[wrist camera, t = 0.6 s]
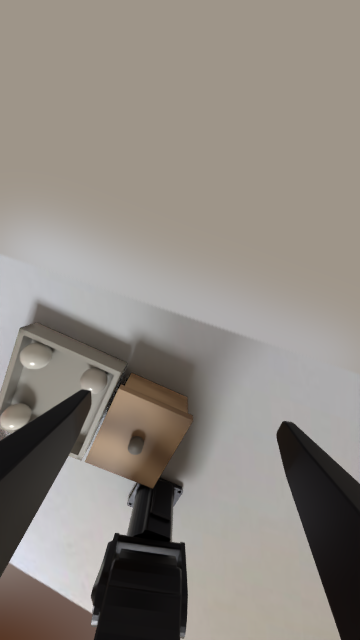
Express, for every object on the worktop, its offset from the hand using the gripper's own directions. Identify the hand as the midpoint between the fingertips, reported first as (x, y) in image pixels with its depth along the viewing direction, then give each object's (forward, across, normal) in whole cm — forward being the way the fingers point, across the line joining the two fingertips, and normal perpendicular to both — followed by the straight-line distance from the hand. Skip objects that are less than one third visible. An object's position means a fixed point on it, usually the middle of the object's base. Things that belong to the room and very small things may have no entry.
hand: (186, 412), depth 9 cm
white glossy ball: (+13, +16, +8) cm, 22 cm away
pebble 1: (+12, +19, +16) cm, 27 cm away
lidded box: (+12, +3, +15) cm, 20 cm away
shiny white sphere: (+13, +10, +10) cm, 19 cm away
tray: (+13, +14, +13) cm, 23 cm away
